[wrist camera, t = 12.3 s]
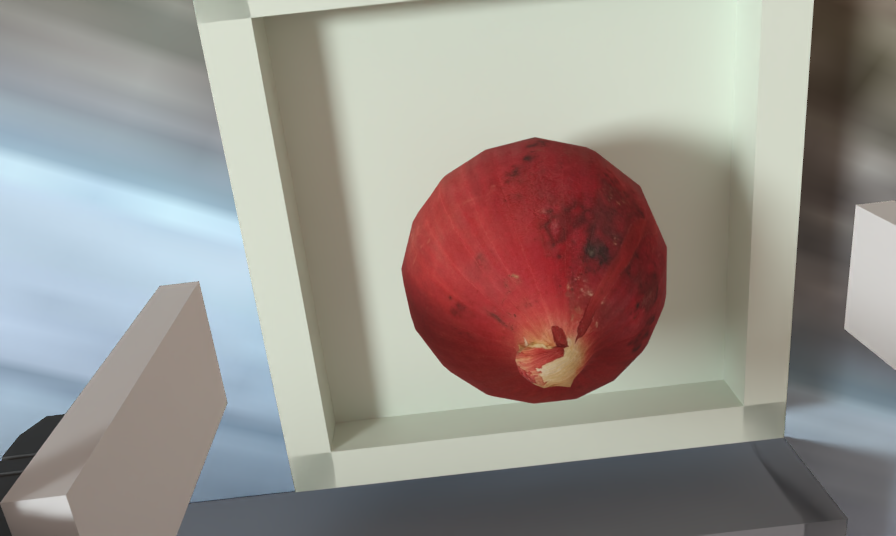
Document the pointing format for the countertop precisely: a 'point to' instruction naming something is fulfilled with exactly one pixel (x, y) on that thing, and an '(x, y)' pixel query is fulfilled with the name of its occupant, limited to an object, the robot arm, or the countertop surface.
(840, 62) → the countertop surface
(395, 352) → the tray
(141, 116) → the countertop surface
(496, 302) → the onion
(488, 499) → the bin
